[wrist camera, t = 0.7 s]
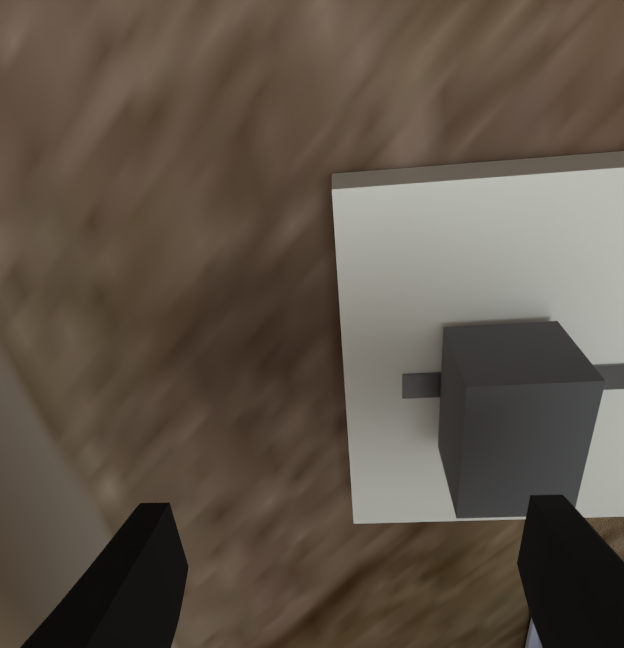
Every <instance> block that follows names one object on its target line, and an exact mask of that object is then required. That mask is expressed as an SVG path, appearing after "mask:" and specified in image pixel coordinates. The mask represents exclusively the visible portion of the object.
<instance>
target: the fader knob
mask: <svg viewBox="0 0 624 648" xmlns="http://www.w3.org/2000/svg"><path fill="white" fill-rule="evenodd" d="M604 385H605V379H604V378H603V377H602V376H601V375H600V373H599V372H598V371H597V370H596V368H595V367H594V366H593V365H592V363H591V362H590V361H589V360H588V358H587V357H586V356H585V355H584V353H583V352H582V351H581V350H580V348H579V347H578V346H577V345H576V343H575V342H574V341H573V340H572V338H571V337H570V336H569V335H568V333H567V332H566V331H565V330H564V328H563V327H562V326H561V325H560V323H559V322H558V321H546V322H527V323H509V324H491V325H472V326H454V327H443V347H442V368H441V390H440V411H439V433H438V449H439V453H440V457H441V460H442V464H443V468H444V472H445V476H446V480H447V484H448V488H449V491H450V495H451V499H452V503H453V507H454V511H455V515H456V518H492V517H526V515H527V510H528V504H529V499H530V495H564V496H565V497H566V498H567V499H568V500H569V501H570V502H571V504H572V505H573V506H574V507H576V503H577V499H578V494H579V490H580V486H581V482H582V478H583V473H584V469H585V465H586V461H587V457H588V452H589V448H590V444H591V440H592V436H593V431H594V427H595V423H596V419H597V415H598V410H599V406H600V402H601V398H602V394H603V390H604Z"/></svg>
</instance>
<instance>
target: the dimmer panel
mask: <svg viewBox="0 0 624 648" xmlns="http://www.w3.org/2000/svg"><path fill="white" fill-rule="evenodd" d="M332 202H333V217H334V232H335V247H336V263H337V278H338V293H339V308H340V323H341V338H342V354H343V369H344V384H345V399H346V414H347V430H348V445H349V460H350V475H351V490H352V505H353V521H354V524H363V523H401V522H438V521H476V520H514V519H526V517H492V518H456V515H455V511H454V507H453V503H452V499H451V495H450V491H449V488H448V484H447V480H446V476H445V472H444V468H443V464H442V460H441V457H440V453H439V449H438V433H439V411H440V390H441V368H442V347H443V327H454V326H472V325H491V324H509V323H527V322H546V321H558V322H559V323H560V325H561V326H562V327H563V328H564V330H565V331H566V332H567V333H568V335H569V336H570V337H571V338H572V340H573V341H574V342H575V343H576V345H577V346H578V347H579V348H580V350H581V351H582V352H583V353H584V355H585V356H586V357H587V358H588V360H589V361H590V362H591V363H592V365H593V366H594V367H595V368H596V370H597V371H598V372H599V373H600V375H601V376H602V377H603V378H604V379H605V385H604V390H603V394H602V398H601V402H600V406H599V410H598V415H597V419H596V423H595V427H594V431H593V436H592V440H591V444H590V448H589V452H588V457H587V461H586V465H585V469H584V473H583V478H582V482H581V486H580V490H579V494H578V499H577V503H576V507H575V508H576V509H577V510H578V511H579V513H580V514H581V515H582V516H583V517H584V518H589V517H624V151H617V152H604V153H591V154H578V155H565V156H553V157H540V158H527V159H514V160H501V161H488V162H476V163H463V164H450V165H437V166H424V167H411V168H398V169H386V170H373V171H360V172H347V173H334V174H332Z"/></svg>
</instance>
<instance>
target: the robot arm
mask: <svg viewBox="0 0 624 648" xmlns="http://www.w3.org/2000/svg"><path fill="white" fill-rule="evenodd" d="M517 565H518V568H519V572H520V576H521V580H522V584H523V588H524V592H525V596H526V599H527V603H528V607H529V610H530V614H531V621H530V626H529V631H528V635H527V640H526V645H525V648H624V561H623V560H622V559H621V558H620V557H619V556H618V555H617V554H616V552H615V551H614V550H613V549H612V548H611V547H610V546H609V545H608V544H607V543H606V542H605V540H604V539H603V538H602V537H601V536H600V535H599V534H598V533H597V532H596V530H595V529H594V528H593V527H592V526H591V525H590V524H589V523H588V522H587V520H586V519H585V518H584V517H583V516H582V515H581V514H580V513H579V511H578V510H577V509H576V508H575V507H574V506H573V505H572V504H571V502H570V501H569V500H568V499H567V498H566V497H565V496H564V495H530V499H529V504H528V510H527V515H526V520H525V525H524V530H523V535H522V541H521V546H520V551H519V556H518V561H517ZM187 572H188V564H187V560H186V557H185V554H184V550H183V547H182V544H181V540H180V537H179V533H178V530H177V527H176V523H175V520H174V516H173V513H172V510H171V506H170V503H140V504H139V505H138V506H137V507H136V509H135V510H134V511H133V512H132V514H131V515H130V516H129V518H128V519H127V520H126V521H125V523H124V524H123V525H122V526H121V528H120V529H119V530H118V532H117V533H116V534H115V535H114V537H113V538H112V539H111V541H110V542H109V543H108V544H107V546H106V547H105V548H104V549H103V551H102V552H101V553H100V554H99V556H98V557H97V558H96V560H95V561H94V562H93V563H92V564H91V566H90V567H89V568H88V570H87V571H86V572H85V573H84V574H83V576H82V577H81V578H80V579H79V580H78V581H77V583H76V584H75V585H74V586H73V587H72V589H71V590H70V591H69V592H68V593H67V595H66V596H65V597H64V598H63V600H62V601H61V602H60V603H59V604H58V605H57V607H56V608H55V609H54V610H53V611H52V612H51V614H50V615H49V616H48V617H47V618H46V619H45V620H44V622H43V623H42V624H41V625H40V626H39V627H38V628H37V629H36V630H35V631H34V633H33V634H32V635H31V636H30V637H29V638H28V640H26V642H25V643H24V644H23V645H22V646H21V647H20V648H171V645H172V641H173V638H174V635H175V631H176V628H177V624H178V621H179V616H180V611H181V606H182V601H183V595H184V590H185V584H186V578H187Z"/></svg>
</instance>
